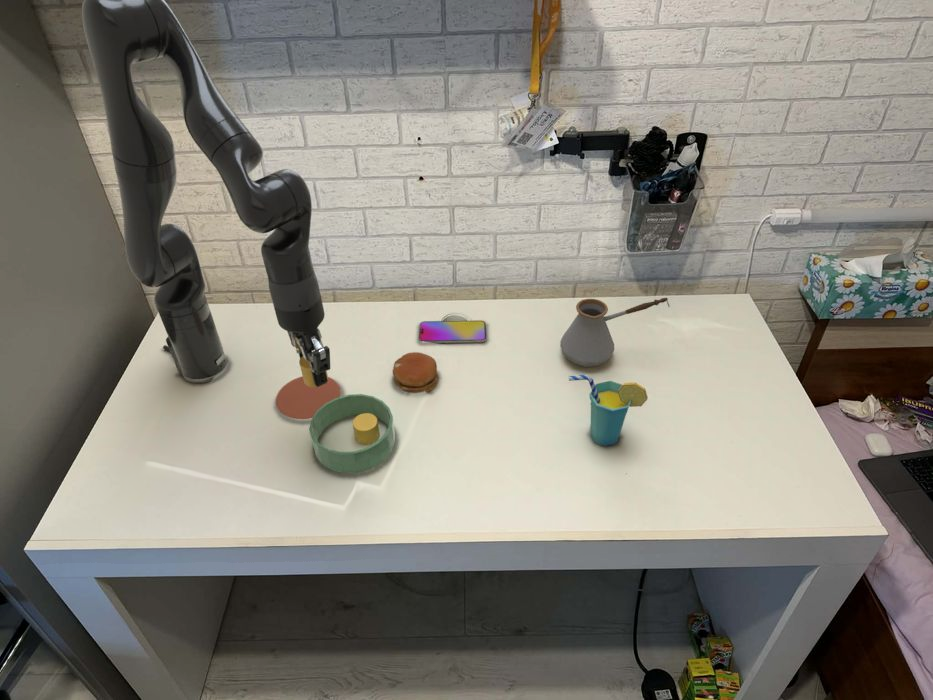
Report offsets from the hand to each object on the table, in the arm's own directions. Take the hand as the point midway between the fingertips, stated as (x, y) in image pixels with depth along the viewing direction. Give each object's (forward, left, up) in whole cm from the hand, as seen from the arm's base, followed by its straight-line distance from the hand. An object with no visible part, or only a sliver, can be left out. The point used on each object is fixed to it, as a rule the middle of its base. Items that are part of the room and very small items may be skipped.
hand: (315, 376), depth 115 cm
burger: (+11, +20, -16) cm, 27 cm away
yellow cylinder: (0, 0, -1) cm, 1 cm away
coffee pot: (+49, +38, -16) cm, 63 cm away
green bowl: (+6, 0, -16) cm, 17 cm away
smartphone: (+14, +37, -16) cm, 42 cm away
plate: (-8, +9, -16) cm, 20 cm away
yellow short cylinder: (+7, +2, -15) cm, 17 cm away
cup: (+50, +14, -16) cm, 54 cm away
